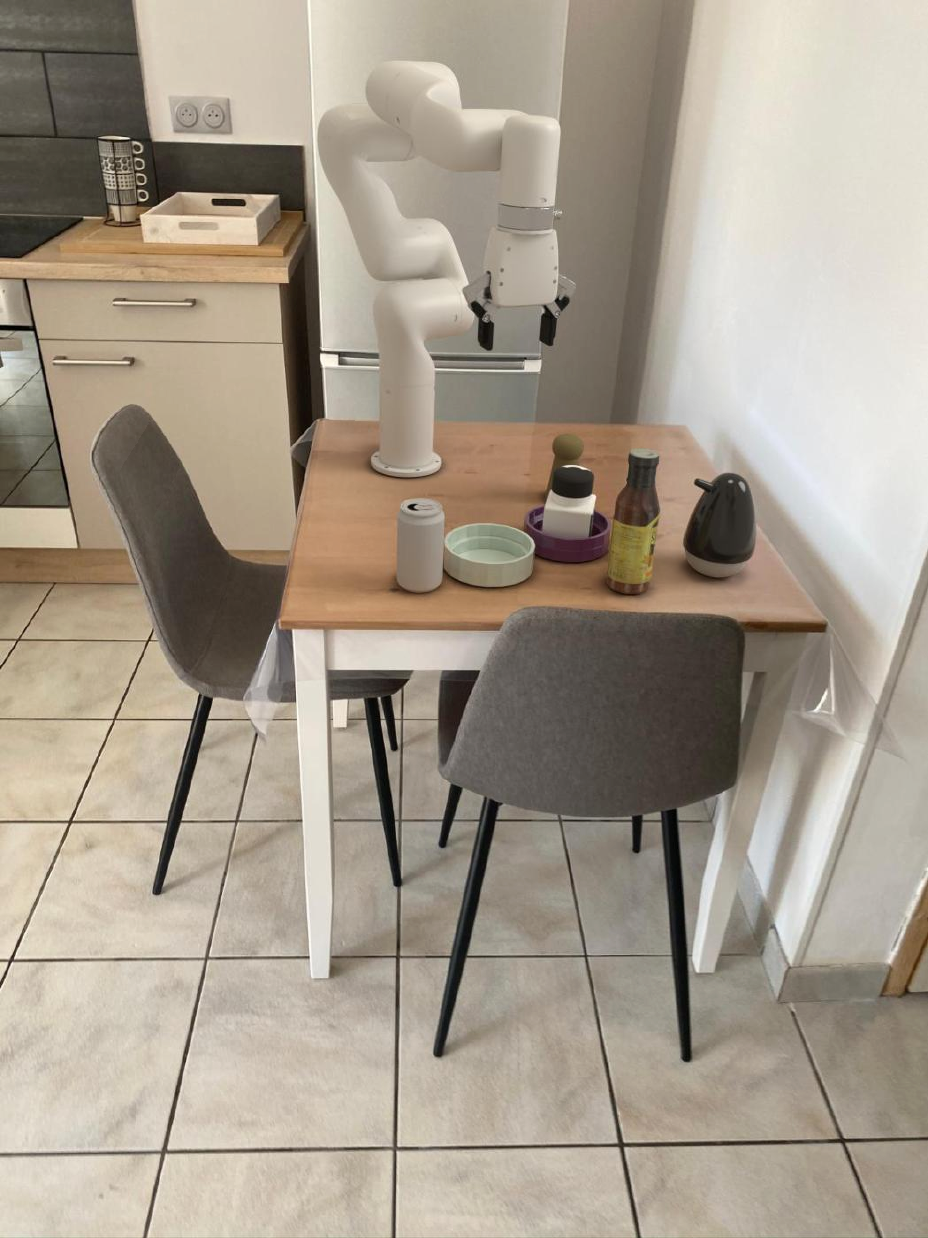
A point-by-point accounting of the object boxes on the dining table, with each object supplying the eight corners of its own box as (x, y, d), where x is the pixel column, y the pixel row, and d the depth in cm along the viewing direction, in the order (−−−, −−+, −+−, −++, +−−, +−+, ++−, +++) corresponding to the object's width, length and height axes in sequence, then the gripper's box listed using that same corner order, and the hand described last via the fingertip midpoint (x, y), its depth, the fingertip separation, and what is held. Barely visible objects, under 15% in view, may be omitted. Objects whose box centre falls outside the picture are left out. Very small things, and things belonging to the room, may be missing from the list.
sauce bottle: (653, 596, 134) (675, 463, 124) (609, 596, 134) (628, 462, 123) (642, 574, 140) (662, 445, 130) (600, 574, 139) (617, 444, 129)
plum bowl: (508, 532, 150) (510, 509, 148) (581, 521, 155) (583, 498, 153) (547, 569, 140) (550, 544, 138) (623, 556, 145) (627, 532, 143)
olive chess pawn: (583, 495, 164) (591, 433, 158) (575, 508, 159) (583, 445, 153) (549, 489, 165) (555, 428, 160) (540, 502, 161) (546, 439, 155)
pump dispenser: (669, 553, 146) (686, 459, 138) (735, 553, 147) (755, 460, 139) (688, 585, 137) (706, 487, 130) (758, 586, 138) (780, 488, 130)
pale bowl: (430, 554, 142) (430, 530, 140) (508, 541, 147) (510, 518, 145) (465, 595, 132) (466, 569, 130) (548, 580, 137) (550, 555, 135)
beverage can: (395, 573, 137) (396, 495, 131) (440, 573, 137) (443, 496, 131) (397, 595, 131) (397, 515, 125) (443, 595, 132) (446, 515, 126)
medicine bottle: (587, 556, 143) (596, 481, 137) (540, 550, 144) (547, 476, 138) (591, 536, 149) (600, 463, 143) (546, 530, 150) (552, 458, 144)
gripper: (568, 213, 135) (556, 335, 144) (455, 215, 129) (450, 343, 138) (595, 221, 129) (581, 348, 138) (478, 224, 123) (472, 357, 132)
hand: (516, 345), depth 138 cm, fingers open, 9 cm apart
